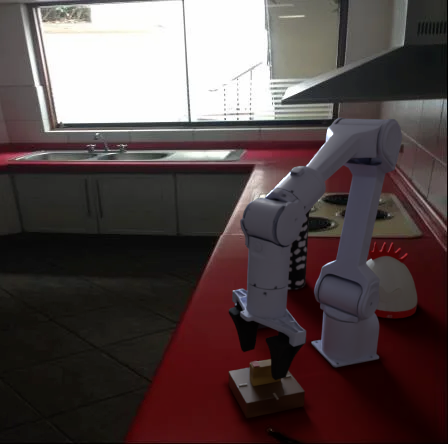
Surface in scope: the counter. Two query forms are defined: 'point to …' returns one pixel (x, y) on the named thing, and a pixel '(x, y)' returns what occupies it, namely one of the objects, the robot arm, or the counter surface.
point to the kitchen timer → (393, 283)
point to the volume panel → (265, 394)
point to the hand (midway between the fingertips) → (262, 362)
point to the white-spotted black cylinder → (299, 258)
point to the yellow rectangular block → (261, 373)
